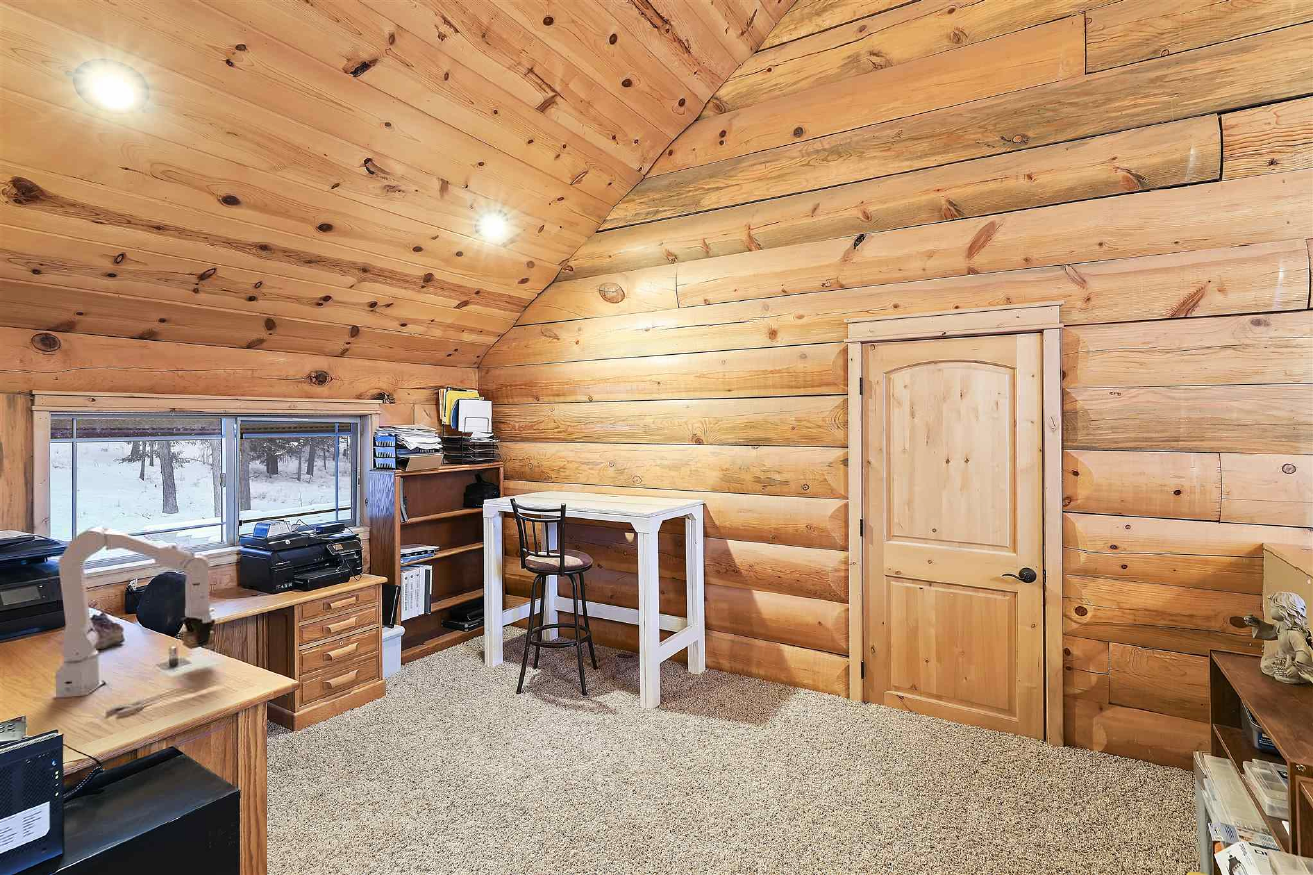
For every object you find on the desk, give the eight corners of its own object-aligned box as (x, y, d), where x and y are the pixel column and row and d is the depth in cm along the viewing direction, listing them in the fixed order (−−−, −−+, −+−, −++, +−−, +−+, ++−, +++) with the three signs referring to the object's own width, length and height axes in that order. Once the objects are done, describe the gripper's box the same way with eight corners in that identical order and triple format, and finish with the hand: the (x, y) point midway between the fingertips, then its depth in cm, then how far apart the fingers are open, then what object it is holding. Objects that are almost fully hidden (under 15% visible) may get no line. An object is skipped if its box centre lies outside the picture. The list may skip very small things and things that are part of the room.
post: (191, 663, 194) (191, 646, 194) (163, 670, 189) (163, 653, 189) (183, 658, 199) (182, 641, 198) (155, 665, 193) (154, 648, 193)
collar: (214, 643, 193) (214, 631, 192) (190, 649, 188) (190, 637, 188) (206, 639, 196) (206, 628, 196) (183, 644, 191) (182, 633, 191)
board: (219, 667, 194) (219, 664, 194) (170, 680, 184) (170, 677, 184) (201, 657, 202) (201, 654, 202) (154, 669, 192) (153, 665, 192)
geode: (65, 643, 216) (69, 612, 217) (109, 639, 225) (113, 609, 226) (79, 654, 203) (84, 621, 204) (126, 649, 212) (130, 617, 213)
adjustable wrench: (216, 681, 184) (216, 675, 184) (226, 687, 181) (226, 680, 181) (104, 714, 164) (104, 707, 163) (113, 721, 160) (113, 714, 160)
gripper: (222, 597, 190) (223, 643, 191) (203, 589, 199) (204, 634, 199) (194, 603, 185) (195, 650, 185) (176, 594, 193) (177, 640, 194)
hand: (198, 642), depth 192 cm, fingers closed on collar, 6 cm apart
